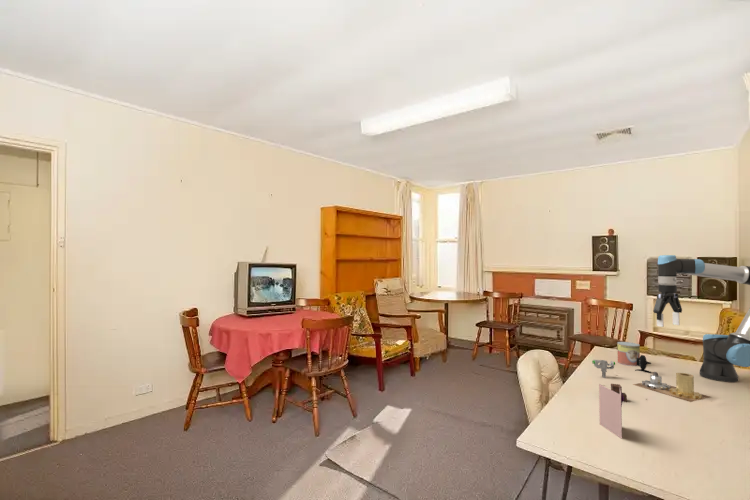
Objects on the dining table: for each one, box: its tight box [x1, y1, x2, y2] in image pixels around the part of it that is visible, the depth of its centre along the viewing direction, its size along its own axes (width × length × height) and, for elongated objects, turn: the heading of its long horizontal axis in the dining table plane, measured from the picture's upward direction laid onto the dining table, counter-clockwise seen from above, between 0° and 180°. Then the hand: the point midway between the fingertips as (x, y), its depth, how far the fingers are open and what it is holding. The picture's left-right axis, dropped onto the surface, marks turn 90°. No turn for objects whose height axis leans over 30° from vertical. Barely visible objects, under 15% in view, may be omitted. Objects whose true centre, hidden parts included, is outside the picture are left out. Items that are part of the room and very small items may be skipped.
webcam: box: [634, 354, 653, 375], centre depth 202 cm, size 8×8×10 cm
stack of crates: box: [610, 383, 628, 403], centre depth 164 cm, size 15×15×7 cm
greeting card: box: [598, 383, 624, 439], centre depth 132 cm, size 11×7×15 cm, turn 148°
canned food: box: [616, 341, 641, 367], centre depth 221 cm, size 11×11×12 cm
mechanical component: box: [592, 359, 616, 379], centre depth 189 cm, size 3×10×10 cm, turn 79°
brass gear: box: [669, 372, 702, 400], centre depth 165 cm, size 11×11×9 cm
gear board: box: [632, 371, 711, 403], centre depth 170 cm, size 16×24×8 cm, turn 23°
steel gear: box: [641, 374, 671, 390], centre depth 176 cm, size 11×11×5 cm
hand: (668, 325), depth 189 cm, fingers open, 13 cm apart
